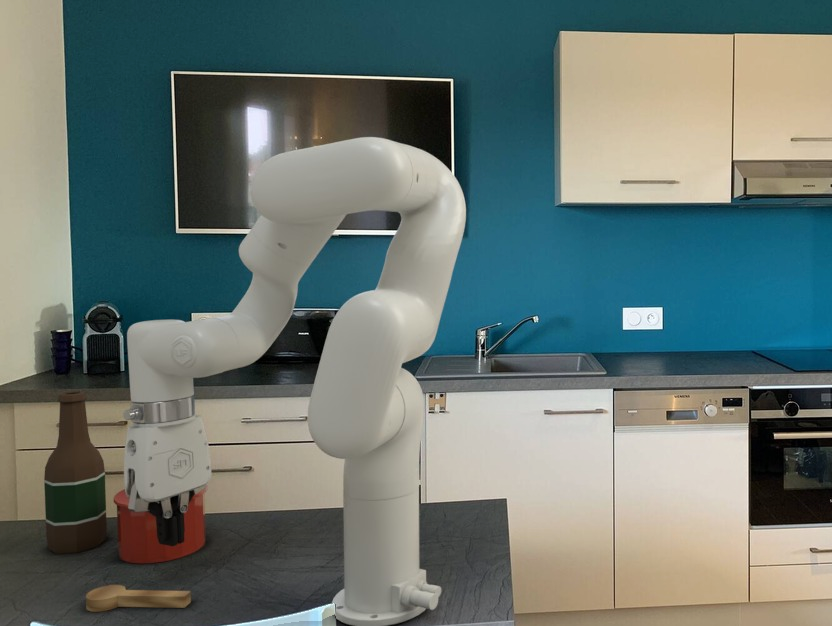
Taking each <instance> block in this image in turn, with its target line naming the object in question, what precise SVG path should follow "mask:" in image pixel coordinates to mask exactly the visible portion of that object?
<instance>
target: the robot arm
mask: <svg viewBox="0 0 832 626" xmlns="http://www.w3.org/2000/svg"><path fill="white" fill-rule="evenodd" d="M250 198H251V202H252V204H253V207H254V208H255V210H256V212H258V213H259V215H260V216H259V217H258V218H257V220H256V221H255V223H254V224H253V226H252V227H251V229H250V230H249V231H248V233H247V234H246V236H245V237H244V238H243V239H242V241H241V242H240V245H238V256H239V258H240V260H241V262H242V263H243V265H244V266H245V267H246V268H247V269H248V271H250V272H251V273H252V279H251V282H250V285H249V287H248V289H247V291H246V292H245V294H244V295H243V296H242V298H241V299H240V301H239V302H238V304H237V305H236V306H235V308H234V309H233V310H232V312H230V314H228V315H220V316H212V317H208V318H203V319H196V320H190V321H184V320H181V319H153V320H144V321H138V322H135V323H133V324H131V325H130V326H129V327H128V329H127V332H126V345H127V360H128V375H129V390H130V391H129V392H130V404H129V405H130V408H129V409H126V410H124V411H123V414H122V415H123V419H124V420H125V421H131V425H128V427H127V431H126V438H125V444H124V454H123V455H124V456H123V485H124V489H125V492H126V496H127V497H128V498H130V500H129V505H128V509H129V511H134V512H144V511H147V512H149V513H151V515H152V516H154V517H156V527H157V538H158V542H159V543H160V544H163V545H168V546H175V545H177V543H179V544H180V543H183V542H184V541H185V539H184V532H185V525H184V513H185V512H186V511H187V510H188V504H189V502H190V501H191V499H192V498H193V496H194V495H196V494H198V493H199V492H201V491H203V490H204V489H205V488H206V484H207V485H208V483H209V482H210V481H212V460H211V453H210V447H209V445H210V444H209V440H208V436H207V431H206V427H205V424H204V421H203V418H202V416H201V414H196V405H195V403H196V401H195V387H194V379H198V378H206V377H210V376H214V375H217V374H222V373H224V372H227V371H231V370H236V369H239V368H244V367H247V366H249V365H251V364H253V363H255V362H256V361H258V360H259V359H260V358H262V357H263V356H264V354H265V353H266V352H267V351H268V350H269V348H271V346H272V345H273V343H274V342H275V341H276V339H277V338H278V337H279V335H280V334H281V333H282V331H283V329H284V328H285V327H286V326H287V324H288V322H289V320H290V318H292V317H291V316H292V315H293V312H294V309H295V305H296V301H297V296H298V291H299V282H300V280H301V279H302V278H303V276H304V275H305V273H306V272H307V270H308V269H309V268H310V266H311V265H312V263H313V262H314V260H315V259H316V258H317V256H318V255H319V254H320V252H321V251H322V249H323V248H324V247H325V245H326V244H327V243H328V241H329V240H330V239H331V237H332V236H333V234H334V233H335V231H336V230H338V229H337V228H339V226H340V224H341V223H342V222H343V221H344V219H345V217H346V216H347V215H351V214H355V213H356V214H357V213H363V212H369V211H370V212H371V211H380V212H390V213H391V212H392V213H393V212H394V213H398V214H400V220H401V221H400V223H399V225H398V228H397V229H396V230H397V231H396V232H395V234H394V235H393V237H392V239H391V241H390V243H389V246H388V248H387V251H386V254H385V259H384V264H383V267H382V271H381V274H380V277H379V280H378V283H377V285H376V287H375V289H373V290H372V289H371V290H367V291H363V292H361V293H358V294H356V295H353V296H352V297H351V298H349V299H348V300H347V301H345V302H344V303H343V304H342V306H341V307H340V308H339V310H338V311H337V312H336V314H335V315H334V316H333V319H332V321H331V323H330V324H329V325H330V326H329V328H328V331H327V335H326V338H325V341H324V345H323V349H322V353H321V356H320V360H319V363H318V368H317V371H316V375H315V378H314V383H313V386H312V389H311V393H310V397H309V402H308V408H307V426H308V431H309V434H310V437H311V439H312V440H313V442H314V444H315V445H316V446H317V448H318V449H319V450H321V452H323V453H324V454H326V455H327V456H329V457H332V458H336V459H340V460H341V459H342V460H344V462H343V475H342V476H343V478H342V500H343V502H342V503H343V504H342V505H343V507H342V509H343V513H342V515H343V583H344V584H343V586H344V587H343V588H342V589H341V590H340V591H338V592H337V593H336V594H335V596H333V598H332V601H331V604H332V603H335V604H336V618H335V619H336V620H338V621H339V622H341V623H343V624H346V625H349V626H394V625H397V624H400V623H404V622H407V621H410V620H412V619H414V618H415V617H417V616H419V615H421V614H422V613H424V612H426V610H430V611H433V610H435V609H436V608H437V606H438V604H439V597H440V596H441V594H442V587H441V586H440V585H435V584H429V583H428V581H427V570H426V569H423V568H420V453H421V451H420V449H421V441H422V433H423V425H424V417H425V397H424V393H423V390H422V386H421V385H420V383H419V381H418V380H417V378H416V377H415V376H414V375H413V374H412V372H410V371H409V370H407V369H405V368H403V367H402V366H403V364H405V363H408V362H409V361H412V360H414V359H416V358H419V357H421V356H423V355H424V354H426V352H428V351H429V349H430V348H431V347H432V345H433V344H434V342H435V339H436V336H437V333H438V329H439V326H440V321H441V317H442V314H443V311H444V307H445V304H446V300H447V296H448V292H449V289H450V285H451V281H452V277H453V272H454V268H455V266H456V263H457V262H456V261H457V257H458V254H459V251H460V248H461V245H462V241H463V236H464V233H465V228H466V220H467V206H466V200H465V196H464V192H463V189H462V186H461V184H460V182H459V181H458V179H457V177H456V176H455V175H454V174H453V172H452V171H451V170H450V169H449V168H448V166H447V165H445V164H444V162H443V161H441V160H440V159H438V157H435V156H434V155H433V154H431V153H429V152H427V151H426V150H424V149H421V148H417V147H415V146H412V145H409V144H405V143H401V142H398V141H394V140H392V139H387V138H384V137H377V136H363V137H362V136H361V137H356V138H351V139H345V140H340V141H335V142H331V143H326V144H325V143H324V144H321V145H317V146H316V145H315V146H311V147H305V148H300V149H295V150H290V151H285V152H281V153H278V154H276V155H273V156H271V157H269V158H268V159H267V160H265V161H264V162H262V164H261V165H259V166H258V168H257V169H256V170H255V173H254V175H253V177H252V179H251V183H250ZM145 500H146V501H145Z"/></svg>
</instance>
